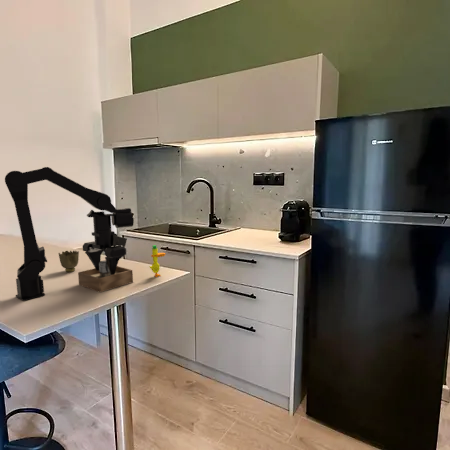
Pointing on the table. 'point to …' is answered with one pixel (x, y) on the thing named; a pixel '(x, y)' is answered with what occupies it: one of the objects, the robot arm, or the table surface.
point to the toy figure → (155, 255)
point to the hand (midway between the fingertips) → (105, 272)
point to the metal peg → (104, 269)
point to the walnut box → (105, 279)
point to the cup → (69, 260)
